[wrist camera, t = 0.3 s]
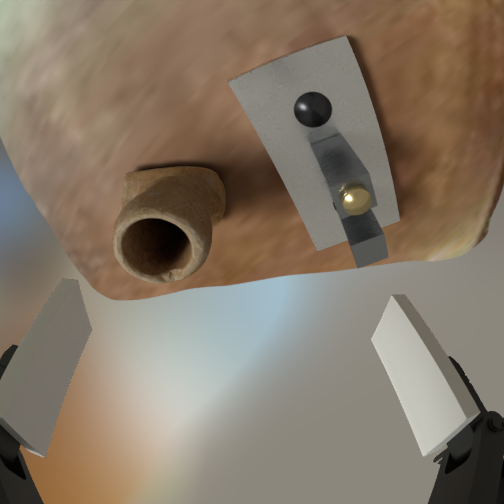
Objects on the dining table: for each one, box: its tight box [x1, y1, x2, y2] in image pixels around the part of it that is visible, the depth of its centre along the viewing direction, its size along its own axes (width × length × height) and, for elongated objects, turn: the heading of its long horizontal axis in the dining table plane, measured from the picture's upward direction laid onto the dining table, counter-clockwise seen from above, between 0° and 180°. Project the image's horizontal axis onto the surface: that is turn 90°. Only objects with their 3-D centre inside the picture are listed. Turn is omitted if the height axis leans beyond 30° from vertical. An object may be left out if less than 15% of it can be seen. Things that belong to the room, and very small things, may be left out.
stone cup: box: [113, 166, 226, 283], centre depth 33 cm, size 15×12×15 cm
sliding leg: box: [311, 134, 378, 219], centre depth 29 cm, size 4×4×11 cm
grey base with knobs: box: [228, 35, 400, 268], centre depth 30 cm, size 14×28×12 cm, turn 27°
